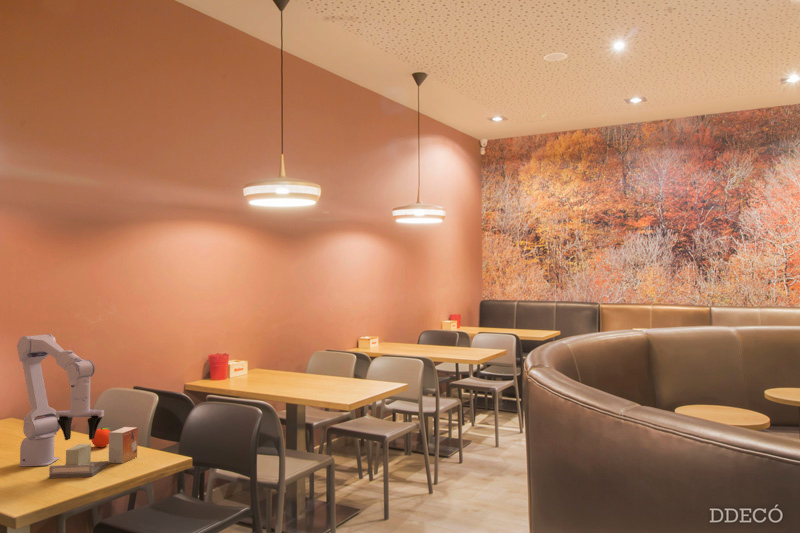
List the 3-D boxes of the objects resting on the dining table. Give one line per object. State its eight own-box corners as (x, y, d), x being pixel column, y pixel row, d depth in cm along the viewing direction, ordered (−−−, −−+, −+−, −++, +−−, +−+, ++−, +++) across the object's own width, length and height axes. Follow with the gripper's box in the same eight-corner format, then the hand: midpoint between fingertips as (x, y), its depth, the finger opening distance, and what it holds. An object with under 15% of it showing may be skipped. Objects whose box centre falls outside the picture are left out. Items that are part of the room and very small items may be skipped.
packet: (65, 472, 178) (65, 450, 179) (78, 465, 185) (78, 444, 186) (78, 472, 178) (78, 450, 179) (90, 465, 185) (90, 443, 186)
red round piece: (111, 442, 217) (111, 424, 217) (117, 446, 212) (117, 427, 212) (88, 447, 211) (88, 428, 211) (94, 450, 206) (94, 431, 206)
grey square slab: (48, 478, 176) (49, 466, 176) (68, 466, 188) (68, 455, 188) (92, 476, 177) (92, 465, 178) (108, 464, 190) (108, 453, 190)
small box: (122, 464, 190) (122, 432, 191) (108, 463, 191) (108, 432, 192) (137, 456, 198) (138, 427, 199) (124, 456, 199) (124, 426, 200)
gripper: (108, 394, 189) (107, 435, 188) (64, 395, 188) (63, 436, 187) (98, 399, 182) (98, 441, 181) (52, 399, 181) (51, 442, 180)
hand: (79, 439), depth 184 cm, fingers open, 7 cm apart
